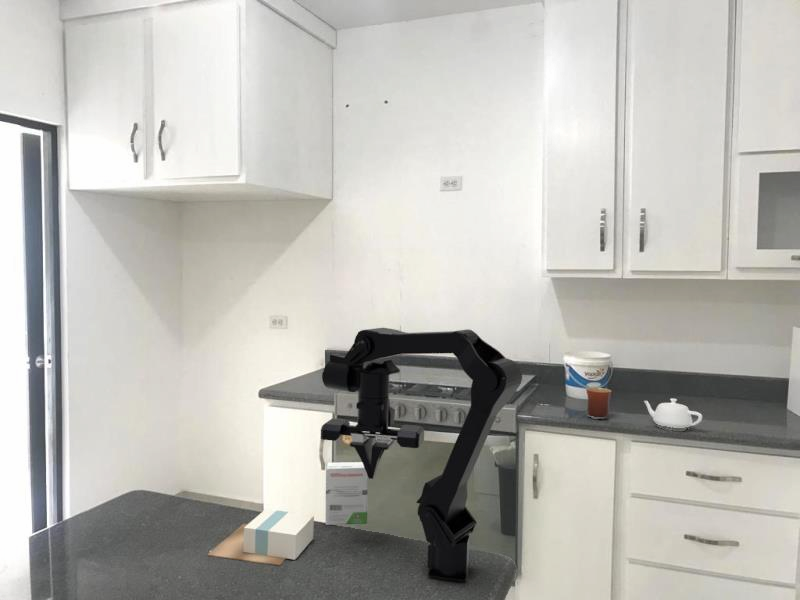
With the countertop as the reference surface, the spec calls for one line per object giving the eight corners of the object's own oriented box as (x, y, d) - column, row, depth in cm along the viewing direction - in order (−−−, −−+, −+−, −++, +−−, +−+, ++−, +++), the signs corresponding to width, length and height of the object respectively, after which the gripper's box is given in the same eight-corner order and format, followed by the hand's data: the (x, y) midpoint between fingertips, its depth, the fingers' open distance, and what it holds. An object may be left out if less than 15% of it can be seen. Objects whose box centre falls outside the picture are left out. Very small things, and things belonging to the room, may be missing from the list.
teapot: (634, 425, 218) (635, 396, 217) (649, 419, 226) (651, 391, 226) (693, 437, 203) (695, 406, 203) (708, 431, 212) (709, 401, 211)
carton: (314, 515, 120) (265, 508, 123) (295, 534, 111) (243, 527, 114) (313, 538, 121) (265, 531, 123) (294, 560, 112) (243, 552, 114)
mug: (614, 421, 222) (615, 392, 222) (590, 421, 222) (592, 392, 221) (600, 413, 234) (601, 385, 234) (577, 413, 233) (578, 385, 233)
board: (309, 533, 123) (309, 532, 123) (279, 565, 110) (279, 564, 110) (243, 524, 126) (243, 523, 126) (207, 555, 113) (207, 554, 113)
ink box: (366, 515, 133) (367, 460, 132) (367, 525, 128) (368, 468, 127) (325, 515, 132) (326, 460, 131) (324, 525, 127) (325, 468, 127)
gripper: (430, 391, 123) (428, 469, 124) (339, 384, 127) (338, 460, 128) (419, 402, 112) (416, 488, 113) (320, 395, 116) (318, 478, 117)
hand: (371, 478), depth 118 cm, fingers closed
